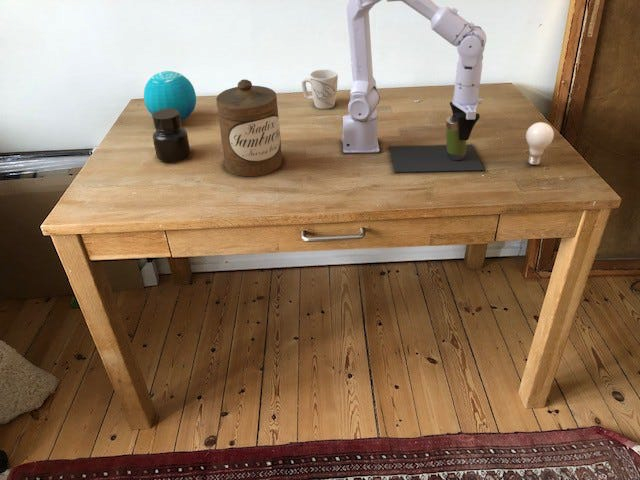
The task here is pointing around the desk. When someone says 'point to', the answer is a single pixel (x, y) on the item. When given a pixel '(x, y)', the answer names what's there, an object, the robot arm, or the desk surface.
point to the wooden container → (249, 129)
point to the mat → (432, 159)
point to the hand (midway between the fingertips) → (461, 135)
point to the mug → (322, 88)
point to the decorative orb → (170, 93)
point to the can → (454, 140)
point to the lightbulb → (538, 140)
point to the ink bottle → (170, 136)
